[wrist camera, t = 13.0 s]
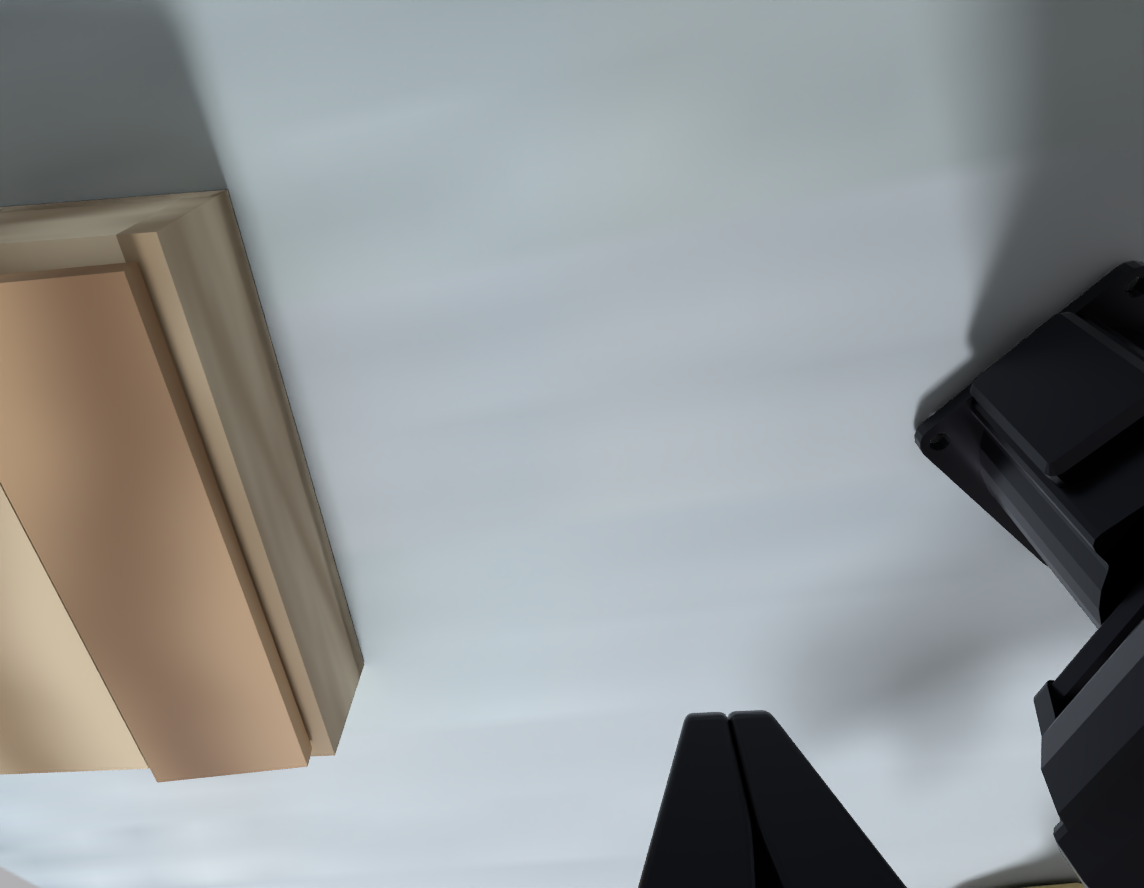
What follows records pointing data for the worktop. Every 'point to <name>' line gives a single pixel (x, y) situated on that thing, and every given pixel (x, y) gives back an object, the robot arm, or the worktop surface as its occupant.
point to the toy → (1060, 886)
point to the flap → (137, 525)
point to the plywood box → (237, 458)
